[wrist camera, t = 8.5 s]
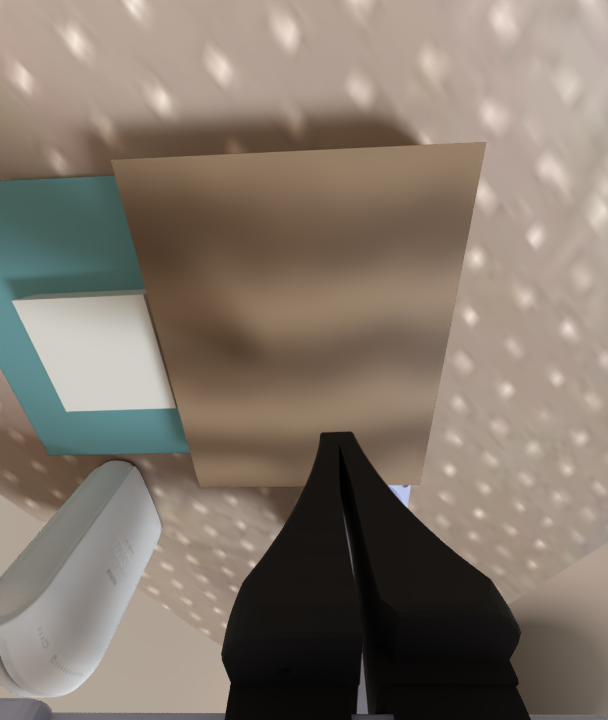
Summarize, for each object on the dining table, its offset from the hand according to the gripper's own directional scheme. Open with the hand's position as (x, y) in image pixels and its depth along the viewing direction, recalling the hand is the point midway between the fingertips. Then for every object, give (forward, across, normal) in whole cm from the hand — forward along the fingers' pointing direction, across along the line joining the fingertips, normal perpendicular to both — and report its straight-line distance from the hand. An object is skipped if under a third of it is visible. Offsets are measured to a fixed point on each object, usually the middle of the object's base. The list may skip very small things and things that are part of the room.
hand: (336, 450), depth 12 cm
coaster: (+9, +15, -2) cm, 17 cm away
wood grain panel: (+9, +1, -2) cm, 10 cm away
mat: (+9, +17, -2) cm, 19 cm away
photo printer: (+10, +19, +14) cm, 25 cm away
